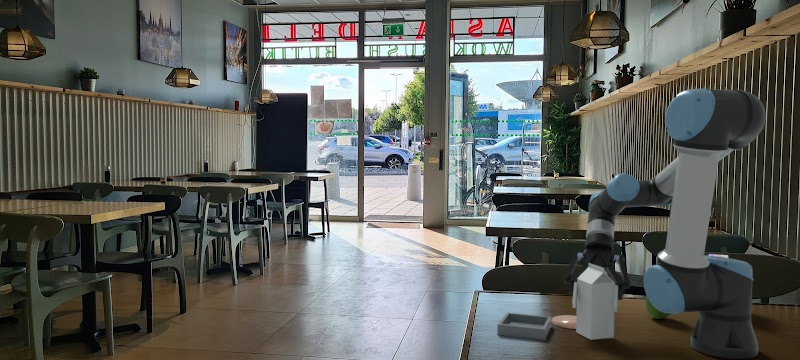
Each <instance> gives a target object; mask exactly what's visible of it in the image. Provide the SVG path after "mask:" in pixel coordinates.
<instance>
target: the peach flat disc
mask: <svg viewBox="0 0 800 360" xmlns="http://www.w3.org/2000/svg"><path fill="white" fill-rule="evenodd" d="M576 319H577V315H573V314H572V315H569V314H564V315H561V314H560V315H557V316H556V315H555V316H553V317H552V320H551V324H553V325H554V326H556V327H559V328H563V329H568V330H576Z"/></svg>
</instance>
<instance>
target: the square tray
mask: <svg viewBox="0 0 800 360" xmlns="http://www.w3.org/2000/svg"><path fill="white" fill-rule="evenodd" d="M552 318H553V317H552V316H548V315H547V316H546V315H536V314H525V313H517V312H515V313H514V312H506V313H505V315H503V317H502V318H501V319H500V321H498V323H497V332H496V333H497V335H499V336H508V337H516V338H524V339H525V338H526V339H533V340H534V339H535V340H543V341H545V340H546V339H547V337H548V335H549V332H550V330H551V328H552Z"/></svg>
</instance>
